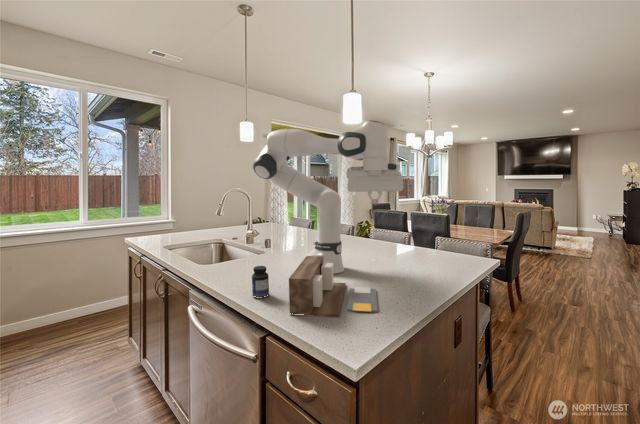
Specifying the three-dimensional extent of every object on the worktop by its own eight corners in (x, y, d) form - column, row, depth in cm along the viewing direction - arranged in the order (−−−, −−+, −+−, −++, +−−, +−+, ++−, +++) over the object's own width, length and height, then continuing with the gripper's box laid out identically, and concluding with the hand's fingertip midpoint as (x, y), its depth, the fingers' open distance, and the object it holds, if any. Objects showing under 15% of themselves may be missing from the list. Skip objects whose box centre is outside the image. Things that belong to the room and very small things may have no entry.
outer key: (322, 300, 106) (322, 275, 105) (320, 307, 100) (319, 280, 99) (311, 299, 106) (310, 274, 106) (308, 306, 101) (307, 280, 100)
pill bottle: (253, 293, 117) (252, 265, 116) (269, 292, 118) (268, 264, 117) (251, 299, 111) (250, 270, 110) (268, 298, 112) (267, 269, 111)
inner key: (333, 285, 121) (333, 263, 120) (331, 290, 115) (331, 267, 114) (323, 284, 122) (323, 262, 121) (321, 290, 116) (321, 267, 115)
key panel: (345, 285, 125) (345, 256, 123) (339, 317, 95) (338, 280, 94) (307, 283, 127) (306, 255, 126) (289, 314, 98) (288, 278, 96)
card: (375, 289, 119) (375, 287, 119) (377, 313, 97) (377, 311, 97) (349, 288, 120) (349, 286, 120) (346, 312, 99) (346, 309, 99)
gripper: (346, 166, 110) (346, 204, 111) (404, 165, 106) (403, 204, 108) (347, 167, 116) (347, 203, 117) (402, 166, 113) (401, 203, 114)
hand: (374, 203), depth 112 cm, fingers closed
